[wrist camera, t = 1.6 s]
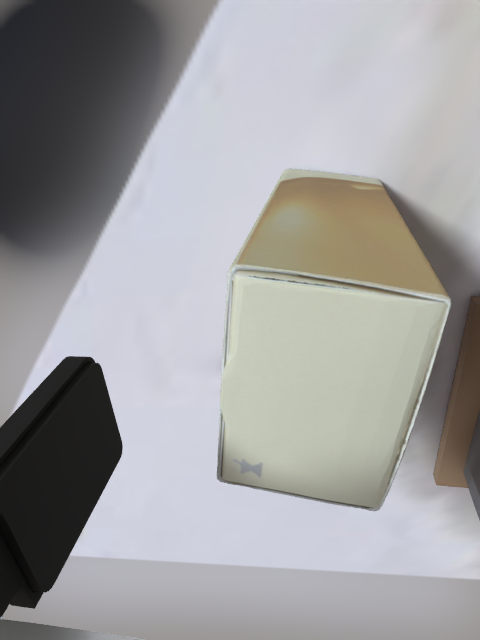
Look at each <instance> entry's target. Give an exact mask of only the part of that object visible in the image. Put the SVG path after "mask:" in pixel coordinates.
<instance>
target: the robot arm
mask: <svg viewBox="0 0 480 640" xmlns="http://www.w3.org/2000/svg"><path fill="white" fill-rule="evenodd" d="M121 455H122V441H121V437H120V434H119V430H118V426H117V423H116V419H115V415H114V412H113V408H112V404H111V401H110V397H109V393H108V390H107V386H106V382H105V379H104V375H103V372H102V368H101V366H100V365H99V364H98V363H95V361H94V360H93V358H91V357H73V356H69V357H66V358H65V359H64V360H63V361H62V362H61V363H60V364H59V365H58V366H57V367H56V368H55V369H54V370H53V371H52V372H51V374H50V375H49V376H48V377H47V378H46V379H45V380H44V381H43V382H42V383H41V384H40V385H39V386H38V388H37V389H36V390H35V391H34V392H33V393H32V394H31V395H30V396H29V397H28V398H27V399H26V400H25V402H24V403H23V404H22V405H21V406H20V407H19V408H18V409H17V410H16V411H15V412H14V413H13V414H12V416H11V417H10V418H9V419H8V420H7V421H6V422H5V423H4V424H3V425H2V426H1V427H0V640H147V639H140V638H133V637H126V636H119V635H112V634H105V633H98V632H91V631H84V630H78V629H71V628H64V627H56V626H49V625H43V624H36V623H28V622H20V621H11V620H3V616H2V615H3V613H4V612H5V610H6V609H7V607H8V605H9V604H11V605H13V606H20V607H27V608H35V607H36V605H37V603H38V601H39V600H40V598H41V596H42V594H43V592H47V591H49V590H50V589H51V588H52V586H53V585H54V583H55V581H56V579H57V578H58V576H59V574H60V572H61V570H62V568H63V566H64V564H65V562H66V560H67V559H68V557H69V555H70V553H71V551H72V549H73V547H74V545H75V543H76V541H77V540H78V538H79V536H80V534H81V532H82V530H83V528H84V526H85V524H86V522H87V521H88V519H89V517H90V515H91V513H92V511H93V509H94V507H95V505H96V504H97V502H98V500H99V498H100V496H101V494H102V492H103V490H104V488H105V486H106V485H107V483H108V481H109V479H110V477H111V475H112V473H113V471H114V469H115V467H116V466H117V464H118V462H119V460H120V458H121Z"/></svg>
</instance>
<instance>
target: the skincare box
mask: <svg viewBox="0 0 480 640" xmlns="http://www.w3.org/2000/svg"><path fill="white" fill-rule="evenodd" d="M451 305H452V301H451V299H450V297H449V296H448V294H447V292H446V290H445V289H444V287H443V286H442V284H441V282H440V281H439V278H438V277H437V275H436V273H435V272H434V270H433V268H432V267H431V265H430V263H429V262H428V260H427V259H426V257H425V255H424V253H423V252H422V250H421V248H420V247H419V245H418V244H417V242H416V240H415V238H414V237H413V235H412V233H411V232H410V230H409V228H408V227H407V225H406V223H405V221H404V220H403V218H402V216H401V215H400V213H399V211H398V209H397V208H396V206H395V205H394V203H393V201H392V200H391V198H390V196H389V195H388V193H387V191H386V190H385V188H384V186H383V184H382V183H381V181H380V180H379V179H374V178H367V177H360V176H353V175H345V174H337V173H329V172H320V171H310V170H300V169H286V170H285V171H284V172H283V173H282V175H281V177H280V179H279V181H278V183H277V184H276V186H275V188H274V190H273V192H272V193H271V195H270V197H269V199H268V201H267V202H266V204H265V206H264V208H263V210H262V211H261V213H260V215H259V217H258V219H257V220H256V222H255V224H254V226H253V228H252V230H251V232H250V233H249V235H248V237H247V239H246V240H245V242H244V244H243V246H242V248H241V249H240V251H239V253H238V255H237V257H236V258H235V260H234V262H233V264H232V265H231V267H230V270H229V272H228V276H227V296H226V309H225V325H224V341H223V361H222V375H221V396H220V422H219V443H218V467H217V479H218V480H219V481H220V482H224V483H228V484H233V485H240V486H246V487H250V488H254V489H259V490H264V491H269V492H274V493H279V494H284V495H289V496H295V497H299V498H304V499H309V500H315V501H320V502H325V503H330V504H335V505H341V506H348V507H354V508H361V509H366V510H370V511H377V510H379V509H380V508H381V506H382V505H383V502H384V500H385V498H386V496H387V494H388V492H389V489H390V487H391V484H392V482H393V480H394V478H395V475H396V472H397V470H398V468H399V465H400V462H401V460H402V457H403V454H404V451H405V449H406V446H407V443H408V440H409V437H410V434H411V432H412V429H413V426H414V423H415V420H416V417H417V414H418V411H419V408H420V405H421V402H422V399H423V396H424V393H425V390H426V387H427V384H428V381H429V378H430V375H431V372H432V369H433V365H434V362H435V358H436V354H437V351H438V349H439V346H440V342H441V338H442V335H443V331H444V328H445V325H446V321H447V318H448V315H449V311H450V308H451Z"/></svg>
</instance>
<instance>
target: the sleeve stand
mask: <svg viewBox="0 0 480 640" xmlns="http://www.w3.org/2000/svg"><path fill="white" fill-rule="evenodd" d="M433 475H434V478H435V482H436V485H441V486H452V487H464V488H469V491H470V494H471V497H472V499H473V502H474V505H475V508H476V511H477V514H478V517H479V520H480V297H471V301H470V306H469V310H468V315H467V320H466V324H465V329H464V334H463V338H462V343H461V348H460V352H459V357H458V362H457V366H456V371H455V376H454V380H453V385H452V390H451V394H450V399H449V404H448V408H447V413H446V418H445V422H444V427H443V432H442V436H441V441H440V446H439V450H438V455H437V460H436V464H435V469H434V474H433Z"/></svg>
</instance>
